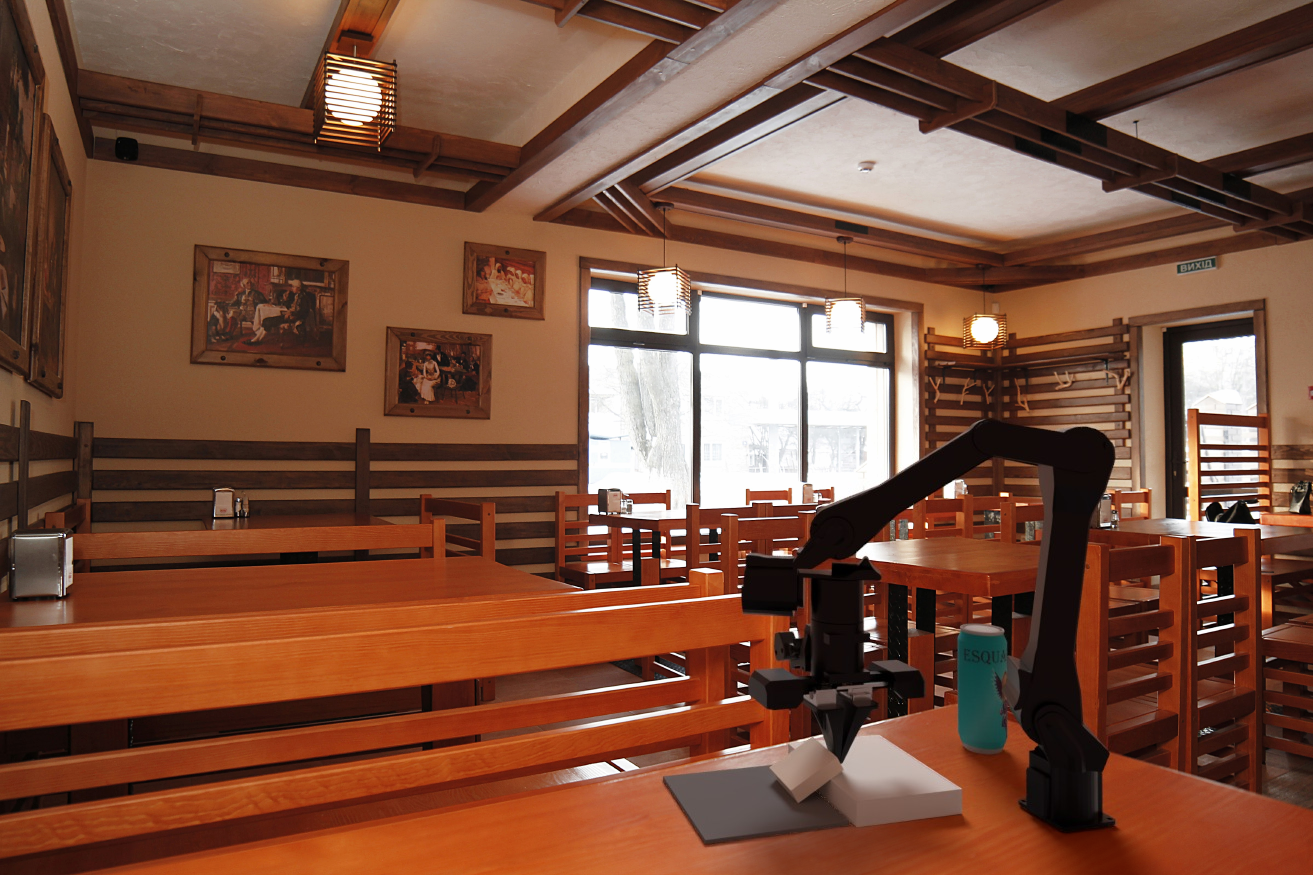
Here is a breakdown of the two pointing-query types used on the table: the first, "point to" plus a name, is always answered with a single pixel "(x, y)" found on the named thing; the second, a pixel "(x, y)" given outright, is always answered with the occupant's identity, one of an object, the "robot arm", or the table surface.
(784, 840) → the table surface
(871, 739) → the light grey rectangular box
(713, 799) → the charcoal mat
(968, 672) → the beverage can
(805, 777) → the cream rectangular block
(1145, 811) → the table surface
